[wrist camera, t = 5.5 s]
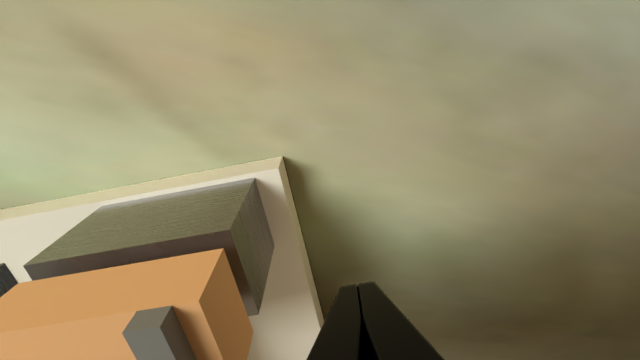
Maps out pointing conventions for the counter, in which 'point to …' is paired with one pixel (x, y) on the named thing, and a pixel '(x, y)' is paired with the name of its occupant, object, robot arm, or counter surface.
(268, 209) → the board
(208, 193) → the grey piece
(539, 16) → the counter surface
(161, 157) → the counter surface
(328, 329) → the robot arm
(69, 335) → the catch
